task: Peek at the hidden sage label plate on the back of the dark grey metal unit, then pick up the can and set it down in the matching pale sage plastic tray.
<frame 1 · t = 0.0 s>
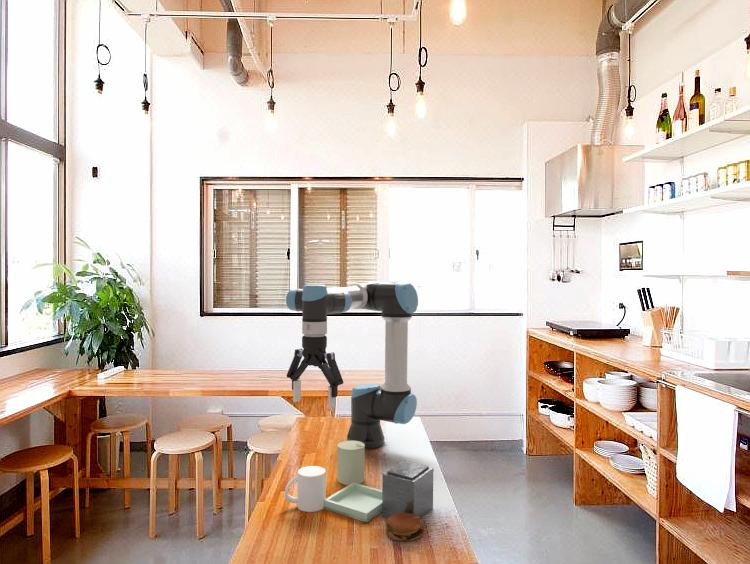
hand: (314, 404, 158), 28 cm above the table, fingers open, 13 cm apart
can: (350, 480, 171), on the table
burger: (404, 535, 136), on the table
unit: (407, 512, 148), on the table
tray: (359, 505, 152), on the table
mug: (305, 506, 152), on the table
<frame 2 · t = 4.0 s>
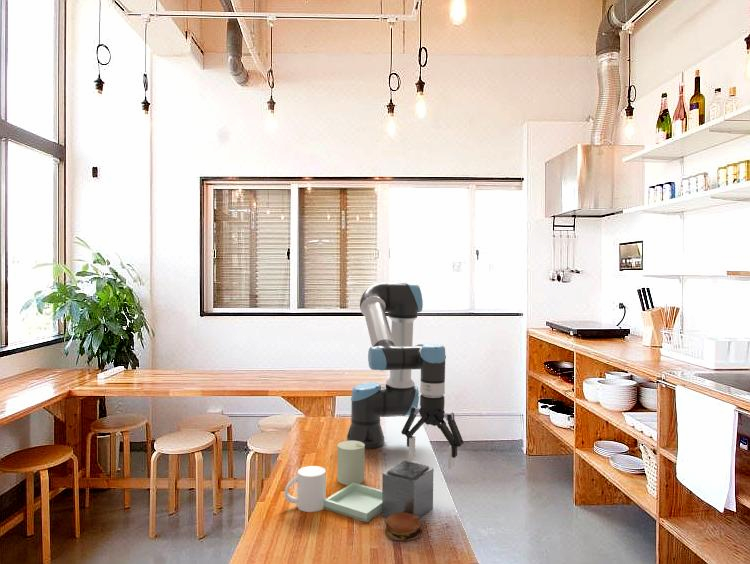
hand: (431, 462, 161), 10 cm above the table, fingers open, 13 cm apart
nothing on the table moved.
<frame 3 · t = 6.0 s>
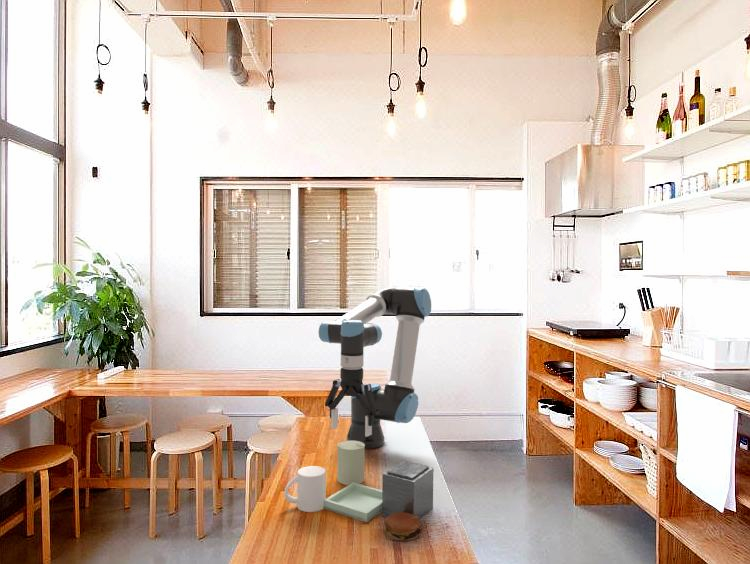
hand: (351, 431, 171), 16 cm above the table, fingers open, 13 cm apart
nothing on the table moved.
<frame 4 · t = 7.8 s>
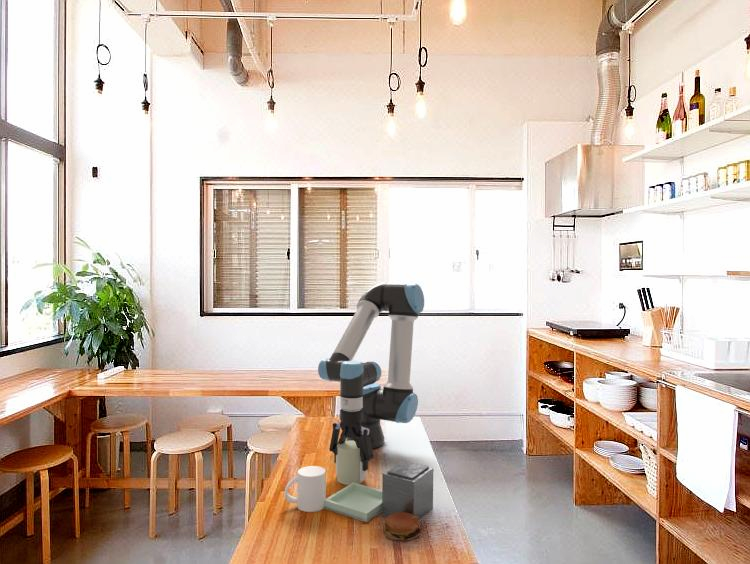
hand: (350, 476, 171), 1 cm above the table, fingers closed on can, 9 cm apart
can: (350, 480, 171), on the table, touching gripper
everything else where it was.
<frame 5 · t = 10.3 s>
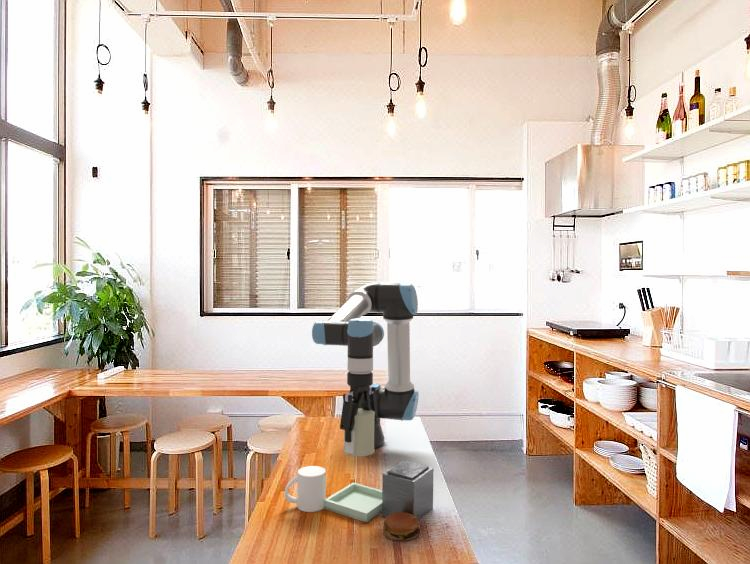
hand: (359, 447, 152), 17 cm above the table, fingers closed on can, 9 cm apart
can: (358, 451, 152), point 16 cm above the table, touching gripper
everything else where it was.
when the fingers open (4 cm above the table, at t = 13.1 s): can drops 2 cm, resting on tray.
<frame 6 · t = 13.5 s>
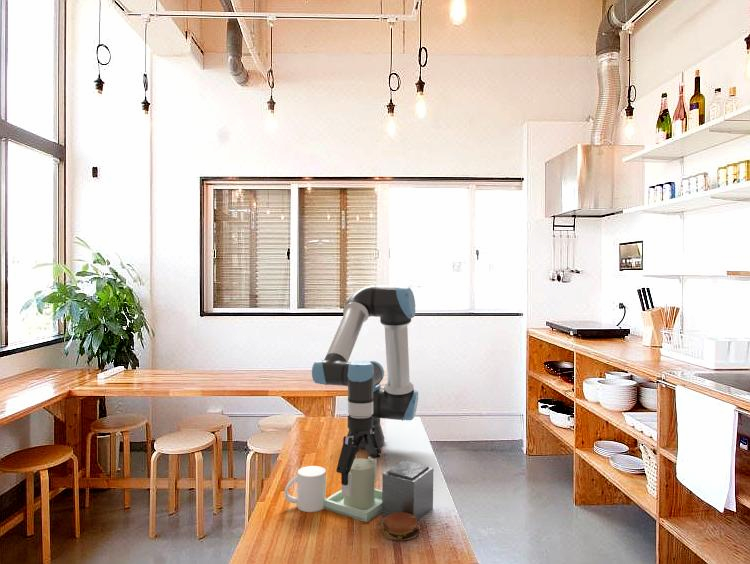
hand: (359, 486, 152), 5 cm above the table, fingers open, 13 cm apart
can: (359, 503, 152), point 1 cm above the table, touching tray
everything else where it was.
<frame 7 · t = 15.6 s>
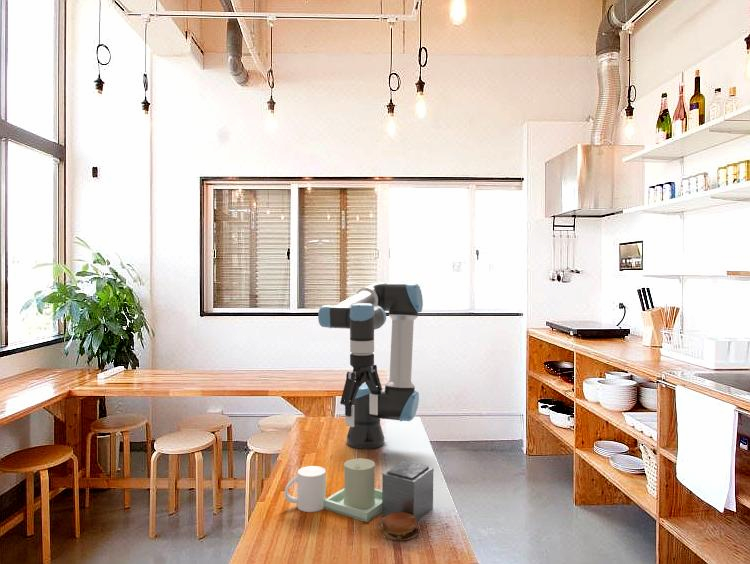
hand: (362, 420, 163), 22 cm above the table, fingers open, 13 cm apart
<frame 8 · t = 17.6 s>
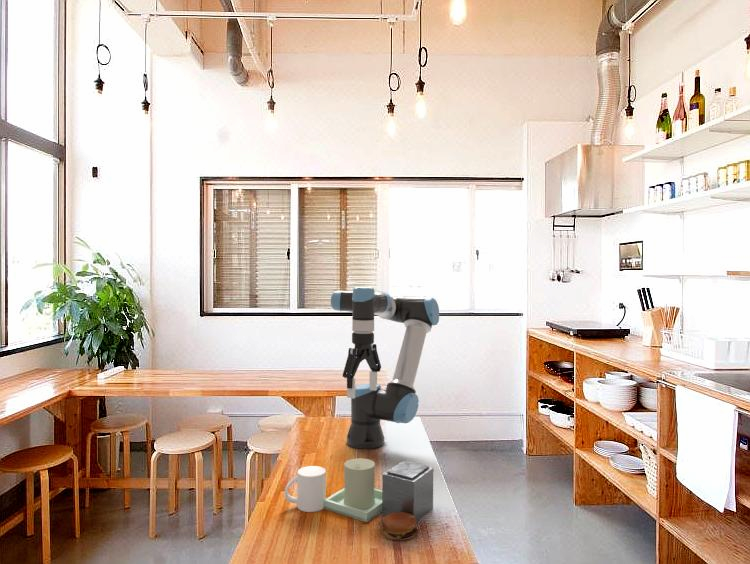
hand: (362, 393, 178), 27 cm above the table, fingers open, 13 cm apart
at the end: can inside the target area on the tray (0.1 cm from its centre), point 0.6 cm above the tray's base; can tilted 0°; can touching tray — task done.
